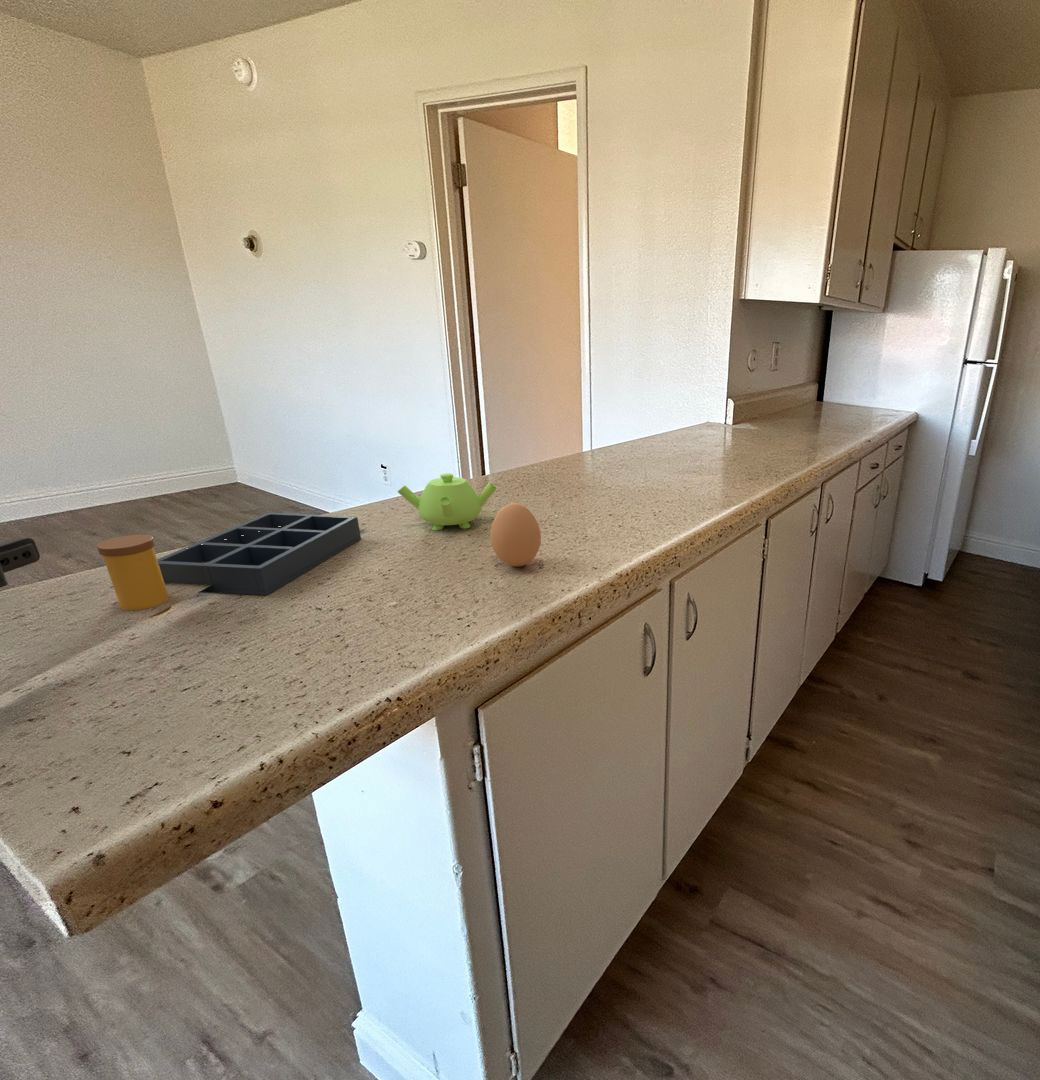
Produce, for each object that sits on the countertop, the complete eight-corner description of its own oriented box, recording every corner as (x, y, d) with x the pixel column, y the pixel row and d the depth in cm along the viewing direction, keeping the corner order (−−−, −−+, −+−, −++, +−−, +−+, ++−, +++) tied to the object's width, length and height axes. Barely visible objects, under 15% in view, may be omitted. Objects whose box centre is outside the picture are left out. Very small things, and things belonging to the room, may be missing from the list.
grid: (156, 590, 72) (148, 562, 71) (273, 534, 90) (268, 512, 89) (266, 595, 72) (260, 568, 71) (361, 539, 90) (357, 516, 89)
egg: (490, 575, 80) (483, 511, 77) (496, 557, 86) (491, 497, 83) (540, 573, 82) (536, 510, 78) (544, 555, 88) (540, 496, 84)
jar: (109, 619, 65) (84, 547, 62) (146, 601, 69) (124, 533, 66) (149, 621, 65) (126, 549, 62) (184, 603, 69) (163, 535, 66)
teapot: (457, 508, 106) (451, 462, 103) (504, 520, 101) (500, 472, 98) (400, 526, 96) (392, 475, 93) (449, 540, 92) (442, 487, 89)
